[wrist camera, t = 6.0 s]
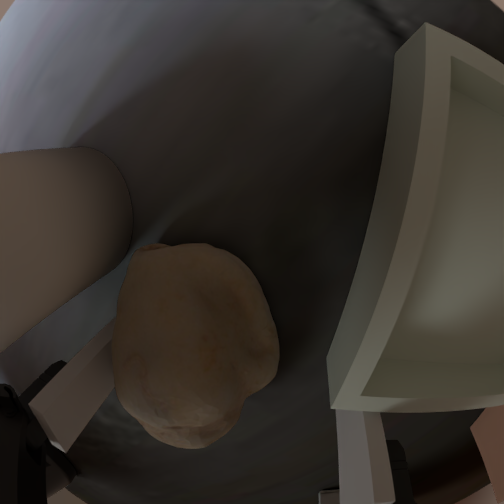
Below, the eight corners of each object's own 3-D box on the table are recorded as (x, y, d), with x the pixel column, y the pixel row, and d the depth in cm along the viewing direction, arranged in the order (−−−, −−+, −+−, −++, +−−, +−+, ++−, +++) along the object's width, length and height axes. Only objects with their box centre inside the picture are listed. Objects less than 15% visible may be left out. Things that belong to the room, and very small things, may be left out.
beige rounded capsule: (44, 261, 12) (-53, 318, 6) (42, 147, 10) (-77, 165, 4) (132, 290, 12) (25, 389, 5) (138, 149, 10) (-23, 160, 3)
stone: (144, 297, 15) (163, 441, 12) (74, 249, 9) (88, 468, 6) (264, 272, 15) (297, 426, 11) (247, 203, 9) (303, 464, 6)
